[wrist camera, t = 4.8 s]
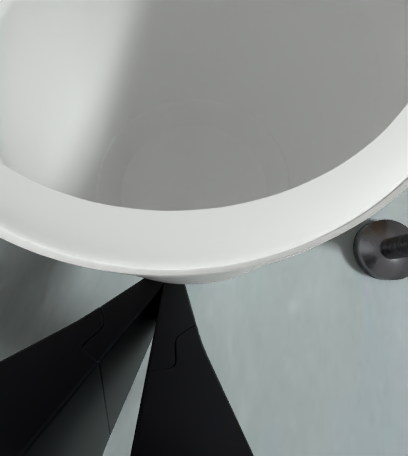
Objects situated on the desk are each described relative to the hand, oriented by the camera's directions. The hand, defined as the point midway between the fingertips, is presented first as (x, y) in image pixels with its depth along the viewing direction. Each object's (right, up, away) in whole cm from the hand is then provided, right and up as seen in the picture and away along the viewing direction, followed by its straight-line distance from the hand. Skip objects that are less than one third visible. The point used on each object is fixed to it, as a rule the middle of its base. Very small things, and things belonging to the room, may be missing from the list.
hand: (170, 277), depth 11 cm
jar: (+1, +3, +8) cm, 9 cm away
